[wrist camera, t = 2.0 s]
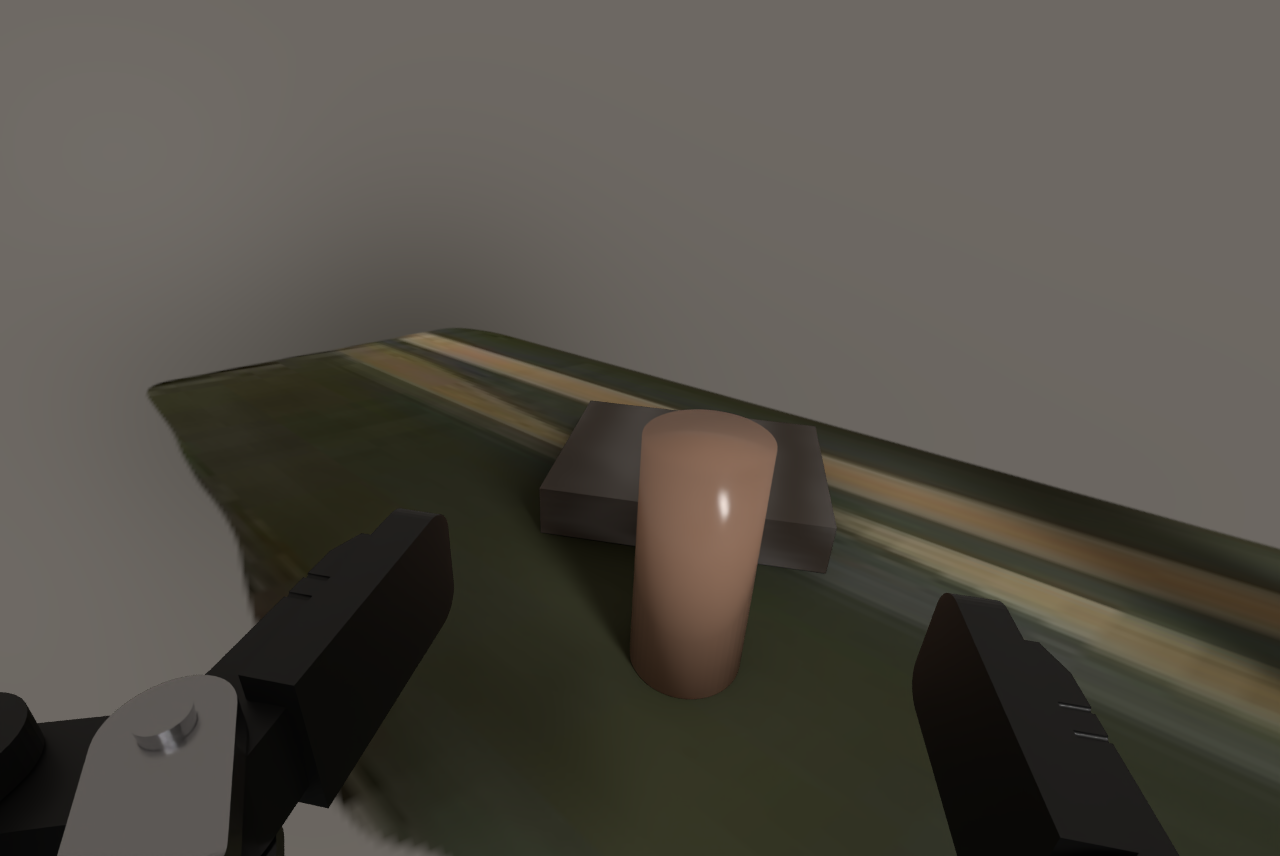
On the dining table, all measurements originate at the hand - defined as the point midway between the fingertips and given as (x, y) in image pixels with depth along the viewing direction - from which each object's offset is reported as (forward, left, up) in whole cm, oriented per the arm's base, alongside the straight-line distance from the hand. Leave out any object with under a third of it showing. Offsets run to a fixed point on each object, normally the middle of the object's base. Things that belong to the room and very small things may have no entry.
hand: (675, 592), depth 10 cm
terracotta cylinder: (0, -12, -14) cm, 19 cm away
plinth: (+1, -25, -14) cm, 29 cm away
